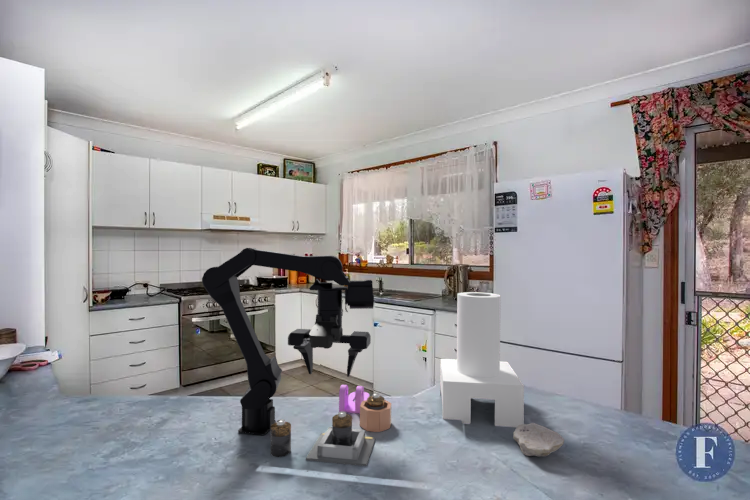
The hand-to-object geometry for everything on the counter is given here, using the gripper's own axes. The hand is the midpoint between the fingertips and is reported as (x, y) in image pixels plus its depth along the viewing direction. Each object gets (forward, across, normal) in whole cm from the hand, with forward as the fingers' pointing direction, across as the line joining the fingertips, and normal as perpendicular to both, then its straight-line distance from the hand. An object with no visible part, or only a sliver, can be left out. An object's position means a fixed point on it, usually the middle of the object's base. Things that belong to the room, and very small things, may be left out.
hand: (329, 375), depth 89 cm
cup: (+12, +11, +1) cm, 16 cm away
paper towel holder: (+12, +36, +16) cm, 41 cm away
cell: (+11, +6, -11) cm, 16 cm away
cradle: (+12, +6, -11) cm, 17 cm away
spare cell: (+12, -6, -14) cm, 19 cm away
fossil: (+12, +46, -3) cm, 48 cm away
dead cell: (+11, +11, +1) cm, 16 cm away
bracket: (+12, +4, +13) cm, 18 cm away
